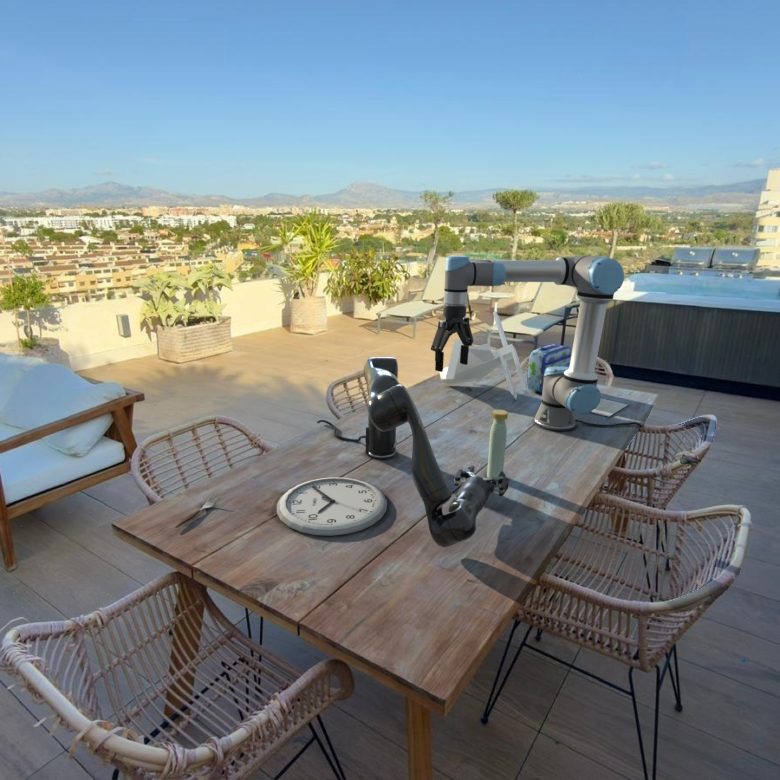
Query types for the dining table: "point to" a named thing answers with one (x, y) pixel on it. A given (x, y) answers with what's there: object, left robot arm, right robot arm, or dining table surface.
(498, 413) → the cap
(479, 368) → the white plastic object
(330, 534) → the wall clock
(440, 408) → the dining table surface
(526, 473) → the dining table surface
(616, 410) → the invitation card
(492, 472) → the bottle
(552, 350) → the lunch box
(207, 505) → the fork
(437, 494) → the left robot arm
